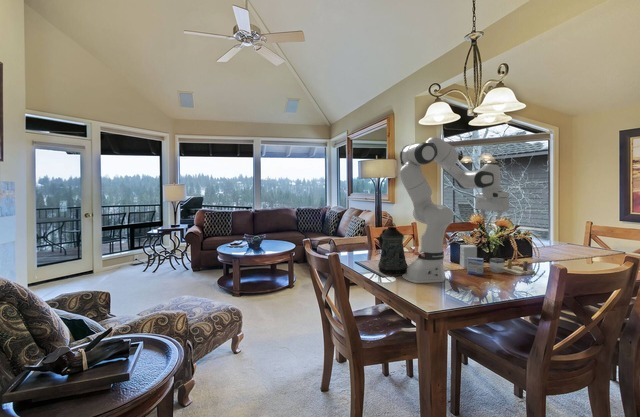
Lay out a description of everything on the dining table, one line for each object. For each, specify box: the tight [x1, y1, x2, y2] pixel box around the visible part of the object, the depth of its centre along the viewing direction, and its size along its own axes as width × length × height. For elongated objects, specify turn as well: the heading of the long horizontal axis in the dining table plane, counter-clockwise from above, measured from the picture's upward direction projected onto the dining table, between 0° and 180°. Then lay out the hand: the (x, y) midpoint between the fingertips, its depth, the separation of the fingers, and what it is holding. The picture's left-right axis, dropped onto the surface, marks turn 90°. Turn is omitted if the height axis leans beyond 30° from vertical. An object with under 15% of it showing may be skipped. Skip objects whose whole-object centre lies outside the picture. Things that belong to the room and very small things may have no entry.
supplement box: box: [459, 244, 478, 269], centre depth 192 cm, size 7×7×13 cm
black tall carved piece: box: [377, 226, 409, 276], centre depth 187 cm, size 16×19×25 cm
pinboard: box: [503, 258, 536, 276], centre depth 181 cm, size 12×12×6 cm
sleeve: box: [488, 257, 506, 274], centre depth 181 cm, size 5×5×7 cm
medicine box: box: [466, 257, 485, 276], centre depth 178 cm, size 8×4×9 cm, turn 62°
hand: (491, 218), depth 180 cm, fingers open, 8 cm apart
